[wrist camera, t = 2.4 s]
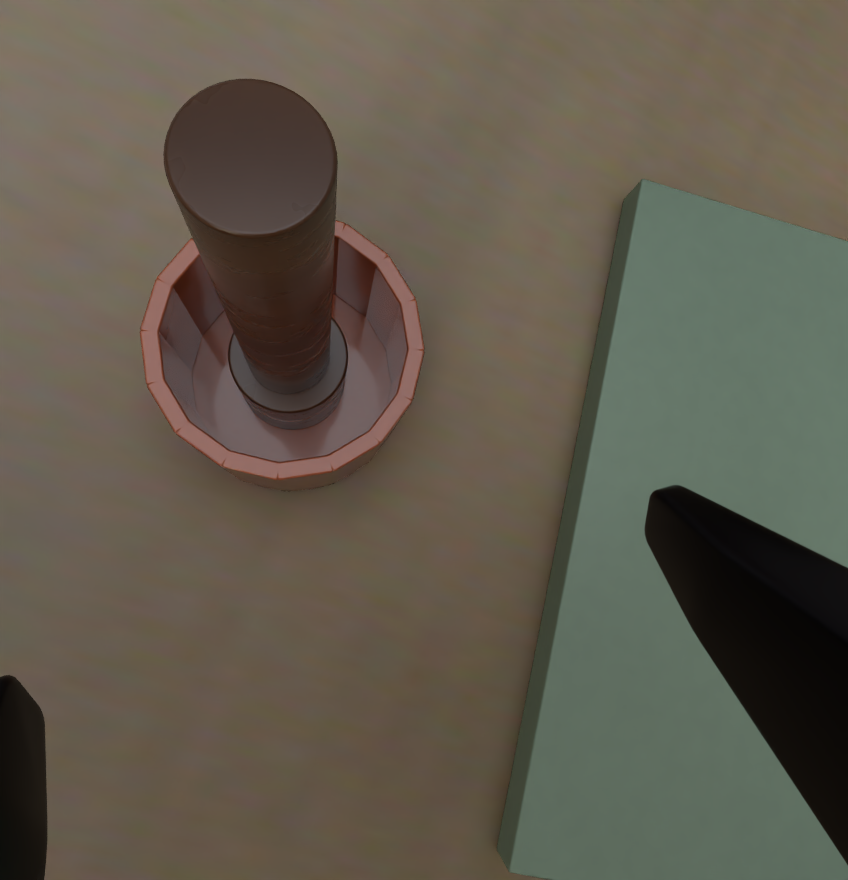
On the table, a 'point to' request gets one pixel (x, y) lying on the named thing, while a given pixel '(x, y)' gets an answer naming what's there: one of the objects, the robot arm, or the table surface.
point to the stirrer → (265, 239)
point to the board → (637, 572)
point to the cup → (223, 406)
